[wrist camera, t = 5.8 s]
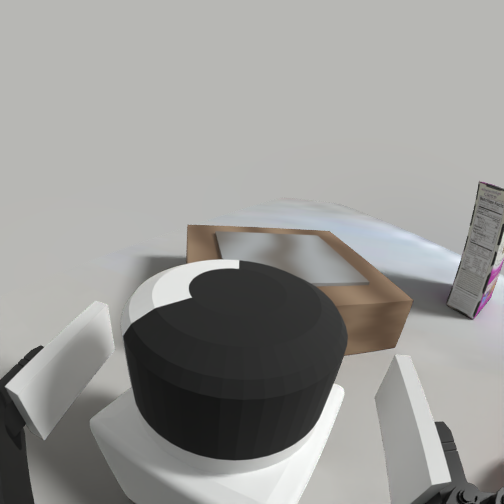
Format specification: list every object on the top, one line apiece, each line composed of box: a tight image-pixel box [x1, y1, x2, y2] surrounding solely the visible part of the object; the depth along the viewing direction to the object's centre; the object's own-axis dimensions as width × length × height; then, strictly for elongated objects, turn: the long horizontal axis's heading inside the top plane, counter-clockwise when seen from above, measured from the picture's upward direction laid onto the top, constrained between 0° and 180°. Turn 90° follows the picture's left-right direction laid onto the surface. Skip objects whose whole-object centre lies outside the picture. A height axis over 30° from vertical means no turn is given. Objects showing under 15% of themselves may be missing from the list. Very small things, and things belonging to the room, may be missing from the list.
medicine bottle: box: [90, 259, 348, 504], centre depth 10 cm, size 7×7×12 cm
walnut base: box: [186, 225, 413, 355], centre depth 30 cm, size 18×18×5 cm
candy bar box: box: [446, 182, 504, 319], centre depth 32 cm, size 11×5×16 cm, turn 123°
